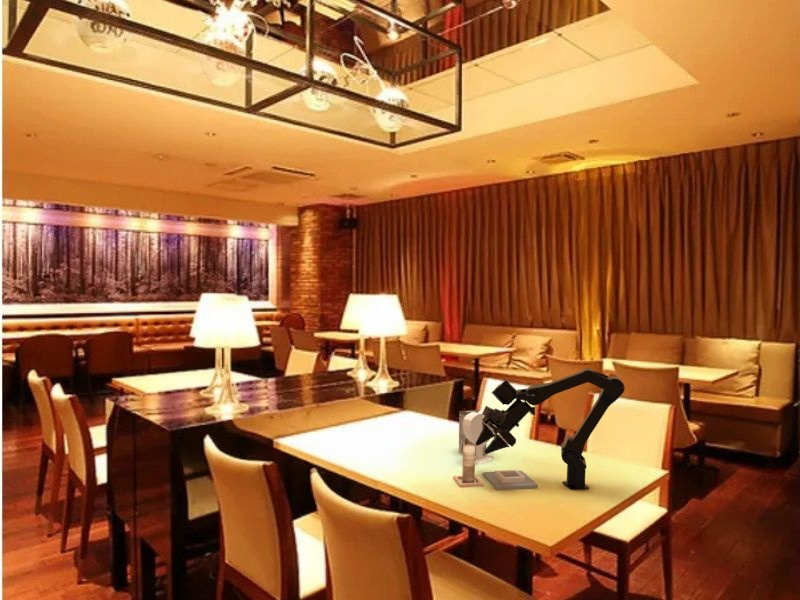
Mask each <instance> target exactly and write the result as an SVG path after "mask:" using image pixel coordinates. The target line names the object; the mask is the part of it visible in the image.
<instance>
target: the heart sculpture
mask: <svg viewBox="0 0 800 600" xmlns="http://www.w3.org/2000/svg"><path fill="white" fill-rule="evenodd" d="M479 410H480V411H479V412H478V413H476V412H471V413H469V414H468V415H466V416H465V418H464V420H463V432H464V434H465V436H466V438H467V439H468V440H469V441H470V442H472V443H473V444H475V443H476V441H477V439H478V437H479V435H480V433H481V431H482V422H483V421H482V419H483V418H484V417H485V416H484V415H482V413H483V411H484V409H479ZM483 423H484V422H483ZM493 433H494V432H493ZM490 440H491V439H489V440H487V441H486V442H484V443H482V444H480V445H478V446H477V445H476V444H475V445H476V455H475V464H476V463H479V464H481V463H480V462H482V463H484V462H483V461H486V462H488V461H487V460H489V459H492V460H494V459H493V458H494V457H493V458H491V457H492V456H490V455H484V456H483V447H484V446H485V444H486V445H487V443H488V442H489V441H490ZM489 456H490V457H489ZM489 461H490V460H489ZM476 465H477V464H476Z"/></svg>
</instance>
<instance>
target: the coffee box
mask: <svg viewBox="0 0 800 600" xmlns="http://www.w3.org/2000/svg"><path fill="white" fill-rule="evenodd" d="M480 410H481V409H475V410H459V411H458V412H459V413H458V414H459V417H458V452H459V453H460V454H461V453H462V454H463V445H466V444H470V445H474V446H475V456H476V445H475V444H473V443H472V442H470V441H469V440H468V439H467V438H466V436H465V434H464V432H463V420H464V418H465V416H466V415H468V414H469V413H471V412H476V413H478V412H479V411H480ZM486 448H487V443H486V444H485V446H484V447H483V455H484V456H487V454H486V453H485V452H484V451H485V450H486ZM462 454H461V455H462ZM483 455H482V456H483Z"/></svg>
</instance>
